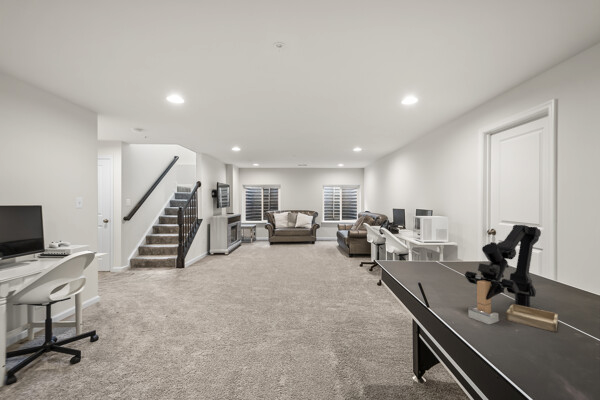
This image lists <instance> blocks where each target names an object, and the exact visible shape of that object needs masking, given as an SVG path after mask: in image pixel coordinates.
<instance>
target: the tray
mask: <svg viewBox="0 0 600 400" xmlns="http://www.w3.org/2000/svg"><path fill="white" fill-rule="evenodd" d="M505 320H506V321H509V322H514V323H518V324H521V325H525V326H529V327H533V328H537V329H542V330H546V331H549V332H553V333H557V330H558V329H557V328H558V323H559V313H556V312H552V311H547V310H542V309H538V308H533V307H532V308H529V307H525V306H520V305H515V304H514V303H511V304H510V306H509V308H508V309H507V311H506V312H505Z"/></svg>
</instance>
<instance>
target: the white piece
mask: <svg viewBox="0 0 600 400" xmlns="http://www.w3.org/2000/svg"><path fill="white" fill-rule="evenodd" d="M468 318H471V319H473V320H476V321H479V322H482V323H484V324H487V325H491V324H494V323H498V322H499V321H500V319H499V313H498V312H491V313H490V314H489V313H486V312H483V311H480V310H477V306H476V307H468Z"/></svg>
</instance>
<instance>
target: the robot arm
mask: <svg viewBox="0 0 600 400" xmlns="http://www.w3.org/2000/svg"><path fill="white" fill-rule="evenodd" d="M541 234H542V233H541V230H540V228H539V227H537V226H529V225H526V224H514V225H513V226H512V229H511V230H510V232H509V233H508V234H507V236H506V237H505V239H504V240H503V241H500V242H498V243H497V242H493V241H491V242H489V243H487V244H485V245H484V246H482V247H481V251H482V252H483V254H484V256H485V258H486V259H487V260H488V262H490V263H489V264H486V263H485V264H484V263H479V264H478V268H477V271H478V272H480V275H479V274H477V272H475V271H469V270H466V271H465V273H464V277H465V279H466V280H467V281H468V282H469V284H472V285H473V284H474V285H477V281H481V280H485V281H489V282H491V288H490V290H489V292H488V294H487V296H486V300H488V299H490V298H491V299H492V298H494V297H495V296H497V295H499V294H501V293H503V294H504V293H505V289H506V292H507V293H509V294H514V303H513V304H515V305H520V306H525V307H529V308H533V305H532V304H531V298H532V297H536V295H537V290H536V289H535V286H534V285H533V280H532V278H531V276H530V268H531V263H532V262H531V261H532V254H533V249H534V245H536V243H537V242H538V241H539V239H540V237H541ZM519 243H520V244H519ZM518 245H519V249H518V257H517V263H516V267H515V268H516V269H515V271H514V272H513V273H512V272H511V273H510V274H509V275H510V276H509V279H507V278H504V277H505V276H504V273H505V271H506V269H507V268H508V269H509V268H510V265H509V263H508V261H507V260H513V259H514V258H515V257H516V256H517V250H516V247H517V246H518Z"/></svg>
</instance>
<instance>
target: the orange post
mask: <svg viewBox="0 0 600 400" xmlns="http://www.w3.org/2000/svg"><path fill="white" fill-rule="evenodd" d="M490 288H491V282H489V281H485V280H481V281H477V284H476V297H477V298H476V299H477V300H476V302H477V303H476V307H477V310H480V311H483V312H486V313H489V314H491V313H492V298H490V299H488V300H486V296H487V294H488V292H489V290H490Z"/></svg>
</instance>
